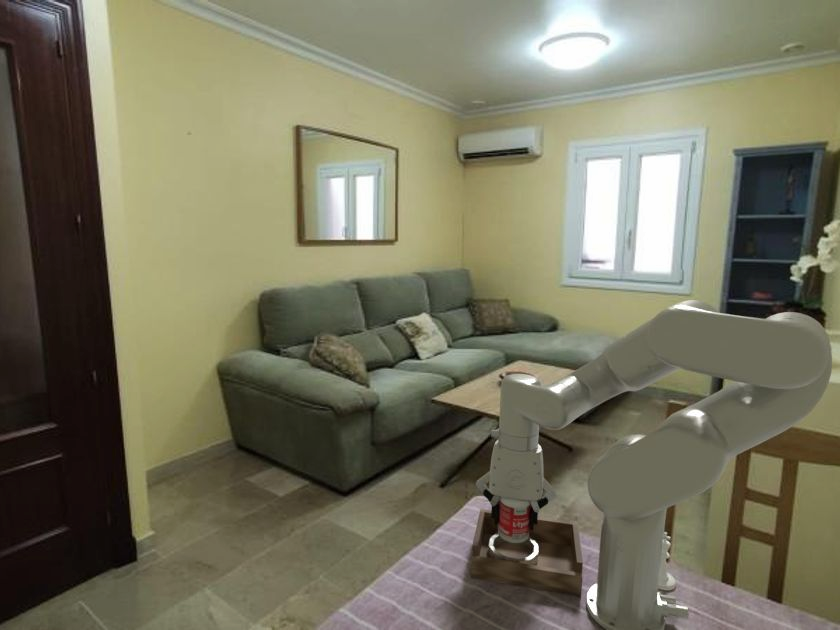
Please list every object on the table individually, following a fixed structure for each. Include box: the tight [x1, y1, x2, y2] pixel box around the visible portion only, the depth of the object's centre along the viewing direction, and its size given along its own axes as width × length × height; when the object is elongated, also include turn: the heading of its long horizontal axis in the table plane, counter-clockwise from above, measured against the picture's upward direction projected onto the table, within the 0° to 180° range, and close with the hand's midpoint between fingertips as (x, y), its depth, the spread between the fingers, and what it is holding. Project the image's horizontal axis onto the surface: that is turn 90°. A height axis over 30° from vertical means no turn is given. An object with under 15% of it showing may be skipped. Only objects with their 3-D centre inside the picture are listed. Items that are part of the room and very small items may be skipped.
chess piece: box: [658, 531, 676, 591], centre depth 91 cm, size 5×5×10 cm
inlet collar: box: [489, 533, 538, 565], centre depth 97 cm, size 10×10×2 cm
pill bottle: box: [498, 497, 531, 543], centre depth 96 cm, size 6×6×11 cm
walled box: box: [470, 508, 584, 598], centre depth 96 cm, size 20×14×6 cm
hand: (513, 523), depth 96 cm, fingers closed on pill bottle, 6 cm apart
